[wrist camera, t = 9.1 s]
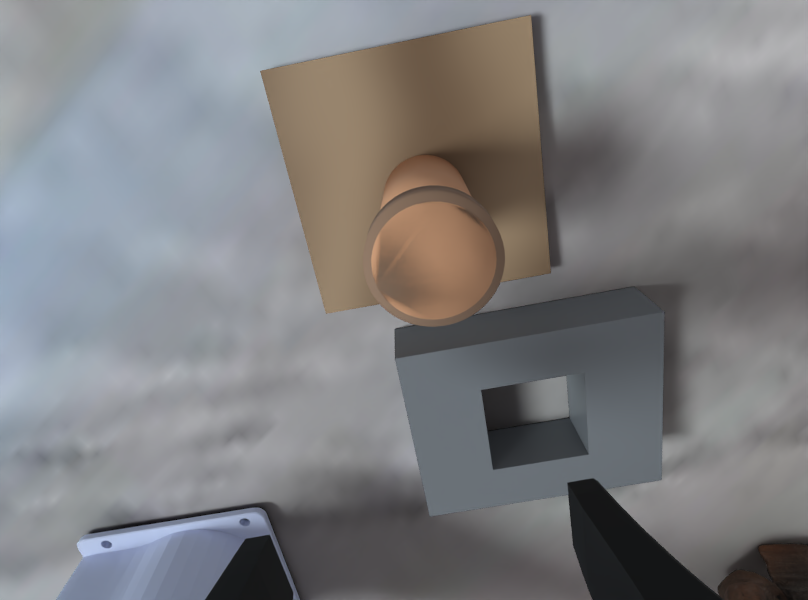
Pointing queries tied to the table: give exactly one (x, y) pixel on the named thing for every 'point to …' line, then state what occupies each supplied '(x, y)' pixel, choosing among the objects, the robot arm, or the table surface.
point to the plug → (432, 246)
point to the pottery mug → (771, 576)
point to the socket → (524, 362)
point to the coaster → (412, 142)
